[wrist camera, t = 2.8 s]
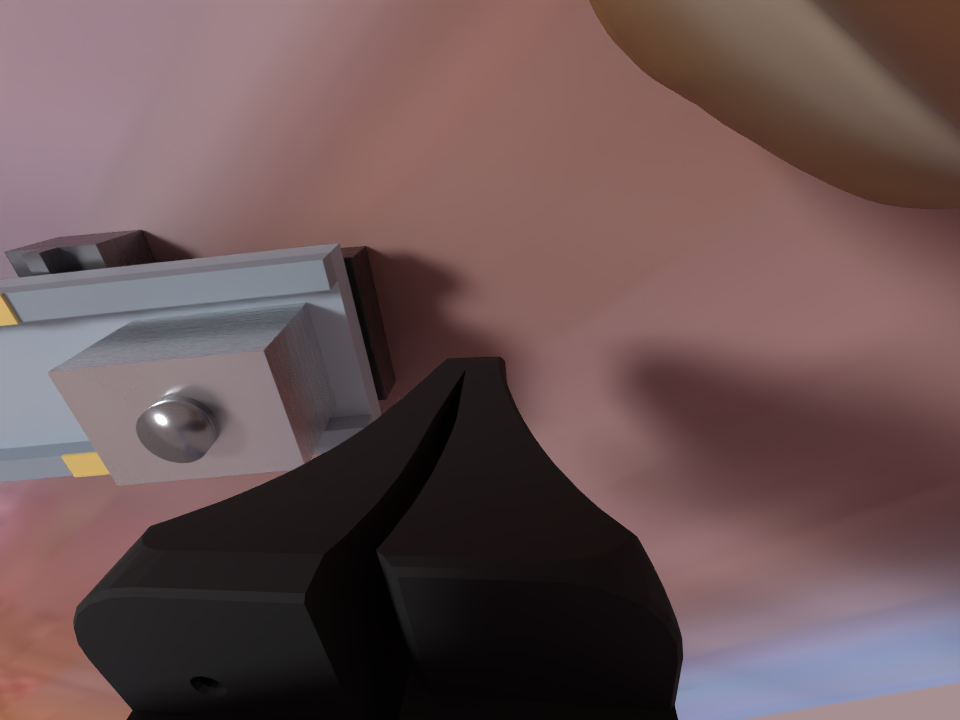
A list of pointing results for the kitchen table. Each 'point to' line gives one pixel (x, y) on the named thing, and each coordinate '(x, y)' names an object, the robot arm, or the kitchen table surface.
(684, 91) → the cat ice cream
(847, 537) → the kitchen table surface
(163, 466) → the block
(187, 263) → the beam
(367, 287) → the stand
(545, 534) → the robot arm
